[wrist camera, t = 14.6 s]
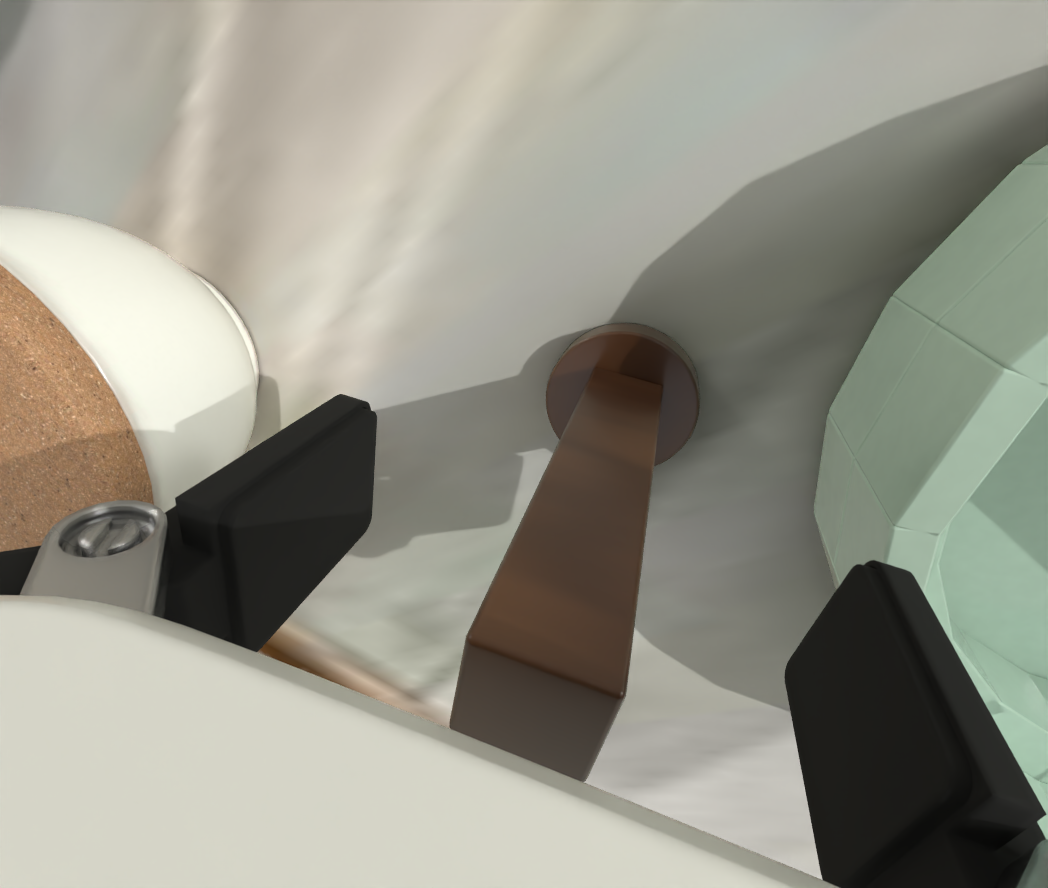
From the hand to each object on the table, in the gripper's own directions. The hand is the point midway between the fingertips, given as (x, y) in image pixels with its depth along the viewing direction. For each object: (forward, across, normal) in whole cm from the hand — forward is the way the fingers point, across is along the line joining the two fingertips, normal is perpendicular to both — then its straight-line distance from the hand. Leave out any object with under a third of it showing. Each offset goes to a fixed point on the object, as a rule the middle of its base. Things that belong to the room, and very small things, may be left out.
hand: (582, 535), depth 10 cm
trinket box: (+7, +16, +3) cm, 18 cm away
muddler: (+7, 0, 0) cm, 7 cm away
